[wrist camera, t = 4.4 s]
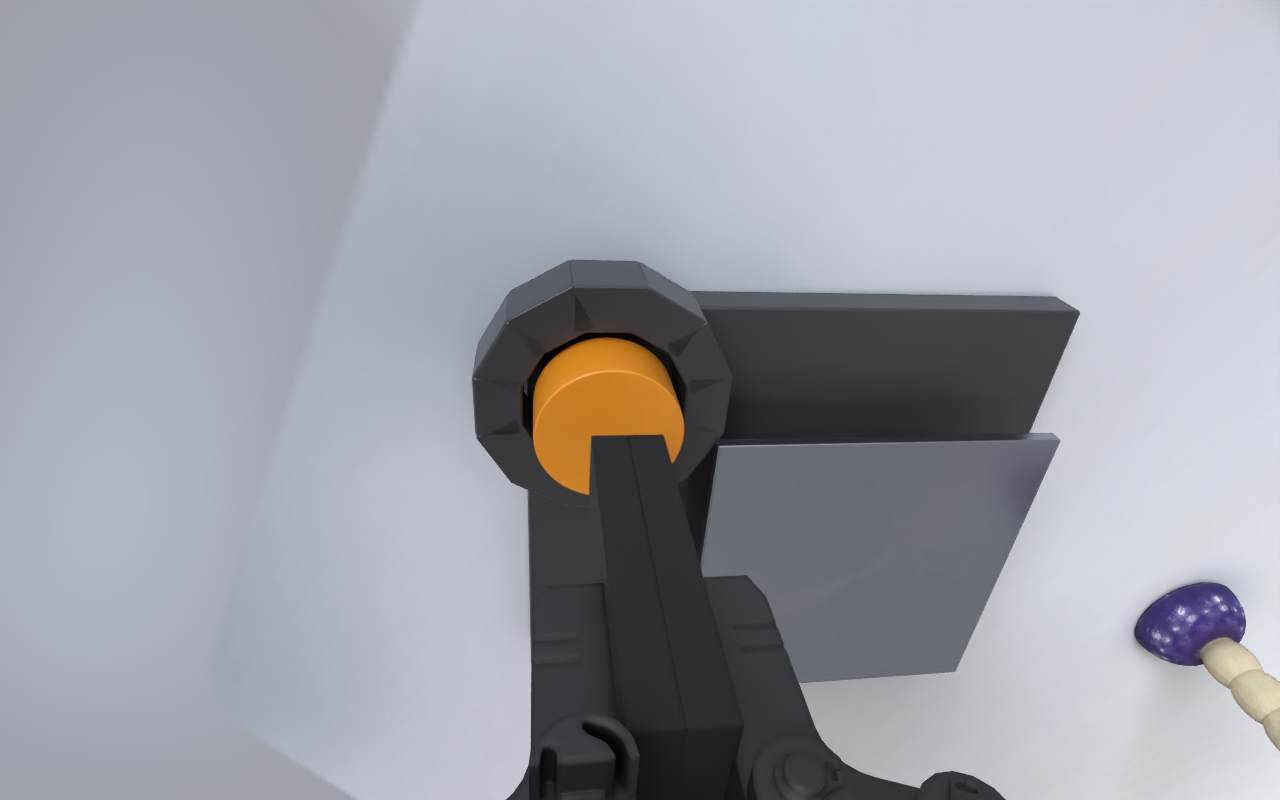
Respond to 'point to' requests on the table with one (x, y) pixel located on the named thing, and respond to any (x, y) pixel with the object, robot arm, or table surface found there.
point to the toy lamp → (1213, 646)
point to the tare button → (600, 405)
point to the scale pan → (871, 540)
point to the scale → (757, 375)
